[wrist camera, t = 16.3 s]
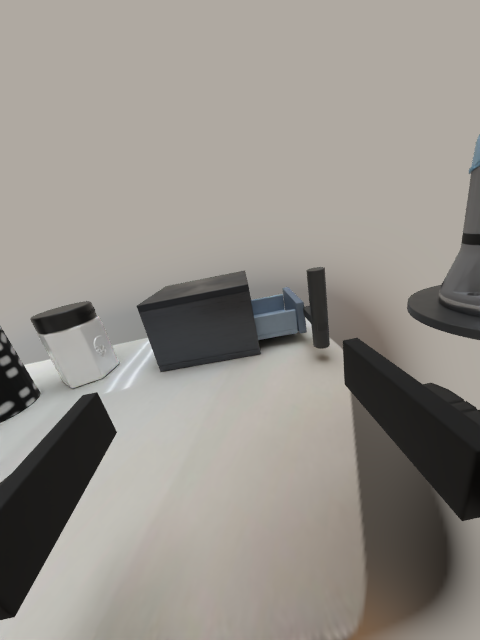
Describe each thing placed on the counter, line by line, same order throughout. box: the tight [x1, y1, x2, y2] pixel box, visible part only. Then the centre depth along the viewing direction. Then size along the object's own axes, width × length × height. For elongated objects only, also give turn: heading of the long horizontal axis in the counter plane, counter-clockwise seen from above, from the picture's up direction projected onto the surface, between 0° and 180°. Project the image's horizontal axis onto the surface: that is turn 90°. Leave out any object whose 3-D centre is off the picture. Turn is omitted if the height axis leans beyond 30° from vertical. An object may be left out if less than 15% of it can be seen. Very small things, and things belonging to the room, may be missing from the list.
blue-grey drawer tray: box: [251, 267, 330, 348], centre depth 36 cm, size 16×18×10 cm
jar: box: [31, 301, 119, 388], centre depth 38 cm, size 9×8×12 cm
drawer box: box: [137, 271, 261, 372], centre depth 40 cm, size 16×14×11 cm
